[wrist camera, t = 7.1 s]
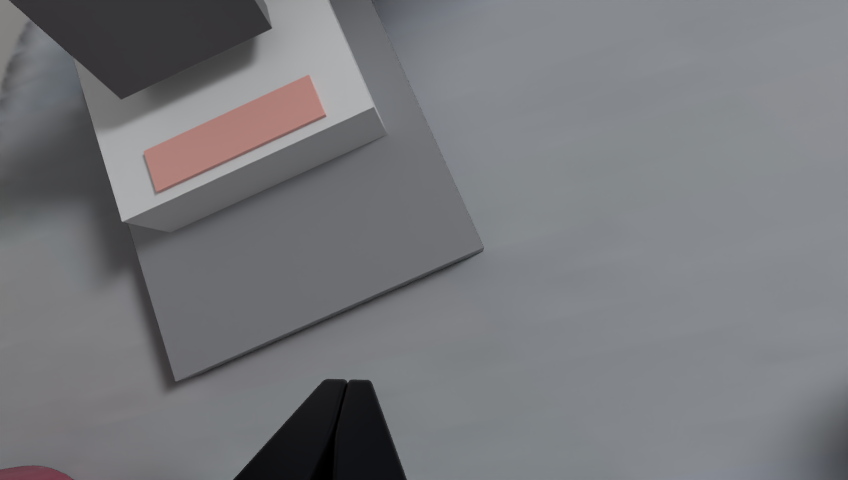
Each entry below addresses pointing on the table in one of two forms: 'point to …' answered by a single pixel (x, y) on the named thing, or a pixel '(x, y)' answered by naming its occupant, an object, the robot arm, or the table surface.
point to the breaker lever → (145, 34)
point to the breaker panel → (278, 182)
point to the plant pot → (32, 473)
